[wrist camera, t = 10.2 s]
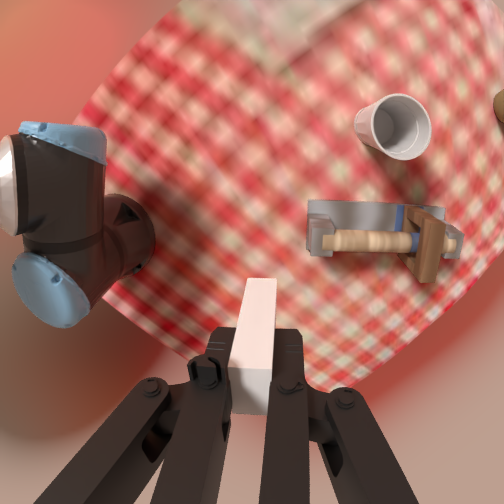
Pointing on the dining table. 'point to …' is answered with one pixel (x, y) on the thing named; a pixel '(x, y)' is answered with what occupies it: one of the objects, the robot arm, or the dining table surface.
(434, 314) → the dining table surface
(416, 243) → the rail
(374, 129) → the cup
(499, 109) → the squeeze bottle
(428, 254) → the collar
